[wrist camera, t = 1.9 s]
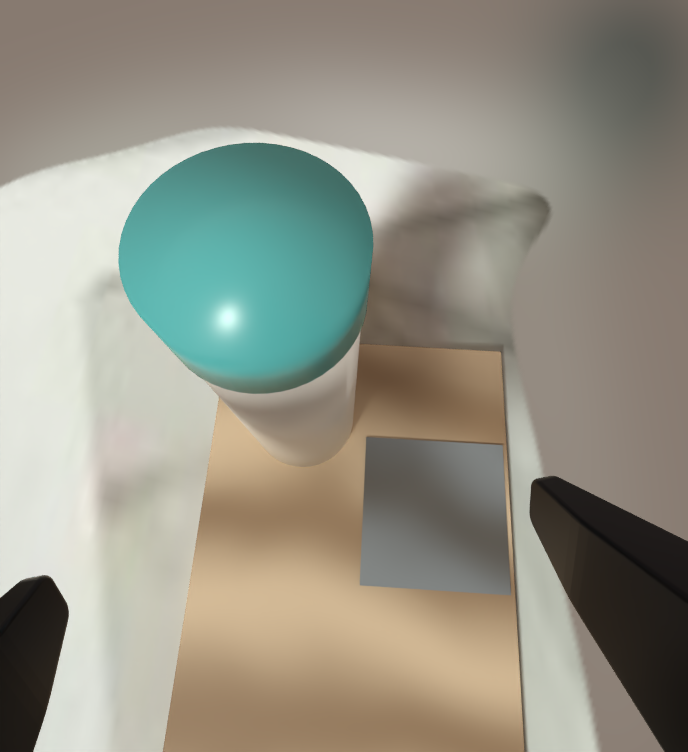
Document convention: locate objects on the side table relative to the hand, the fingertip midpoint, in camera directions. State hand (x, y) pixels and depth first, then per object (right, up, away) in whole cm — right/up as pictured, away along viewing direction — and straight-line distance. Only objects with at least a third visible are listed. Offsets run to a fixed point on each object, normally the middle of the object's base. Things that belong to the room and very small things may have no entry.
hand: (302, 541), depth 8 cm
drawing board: (+1, -4, +11) cm, 12 cm away
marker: (-1, +1, +12) cm, 12 cm away
